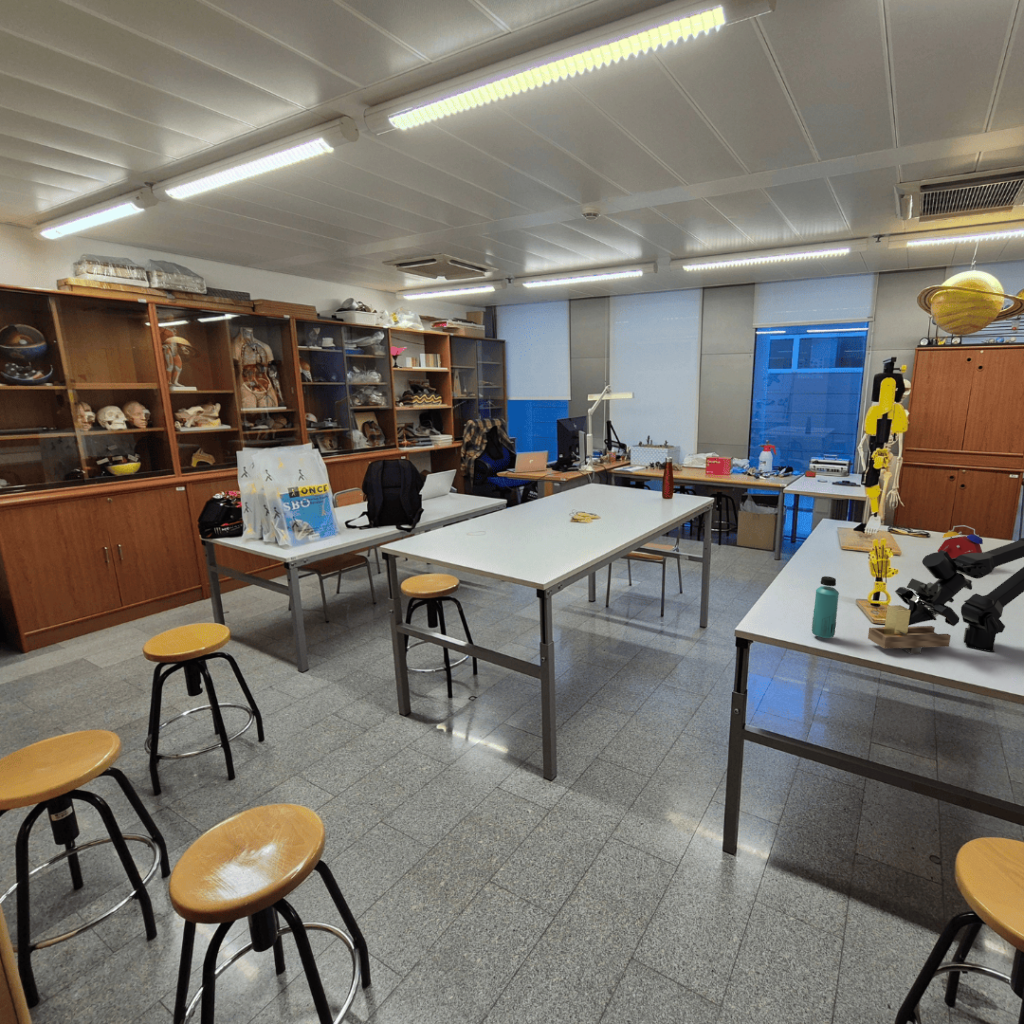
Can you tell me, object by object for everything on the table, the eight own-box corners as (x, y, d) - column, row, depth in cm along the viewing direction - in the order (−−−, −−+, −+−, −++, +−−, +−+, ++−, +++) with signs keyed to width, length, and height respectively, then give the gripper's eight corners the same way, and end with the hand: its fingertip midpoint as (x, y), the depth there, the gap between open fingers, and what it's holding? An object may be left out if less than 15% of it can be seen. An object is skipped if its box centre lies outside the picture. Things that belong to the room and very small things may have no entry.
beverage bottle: (831, 644, 169) (838, 582, 165) (807, 638, 174) (814, 577, 170) (836, 637, 174) (843, 577, 170) (813, 632, 178) (819, 572, 174)
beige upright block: (893, 631, 169) (897, 603, 167) (909, 640, 162) (914, 611, 160) (880, 631, 168) (884, 604, 167) (896, 641, 162) (900, 612, 160)
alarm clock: (981, 572, 240) (988, 527, 236) (973, 575, 235) (981, 530, 231) (940, 564, 252) (946, 521, 248) (932, 567, 247) (939, 523, 243)
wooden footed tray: (929, 642, 170) (931, 625, 169) (947, 652, 164) (950, 635, 162) (866, 644, 169) (869, 627, 168) (883, 654, 162) (885, 637, 161)
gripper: (905, 561, 171) (866, 596, 172) (956, 580, 153) (912, 619, 154) (925, 585, 173) (887, 619, 174) (978, 607, 155) (935, 644, 156)
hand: (903, 624), depth 165 cm, fingers closed, pressing on beige upright block
